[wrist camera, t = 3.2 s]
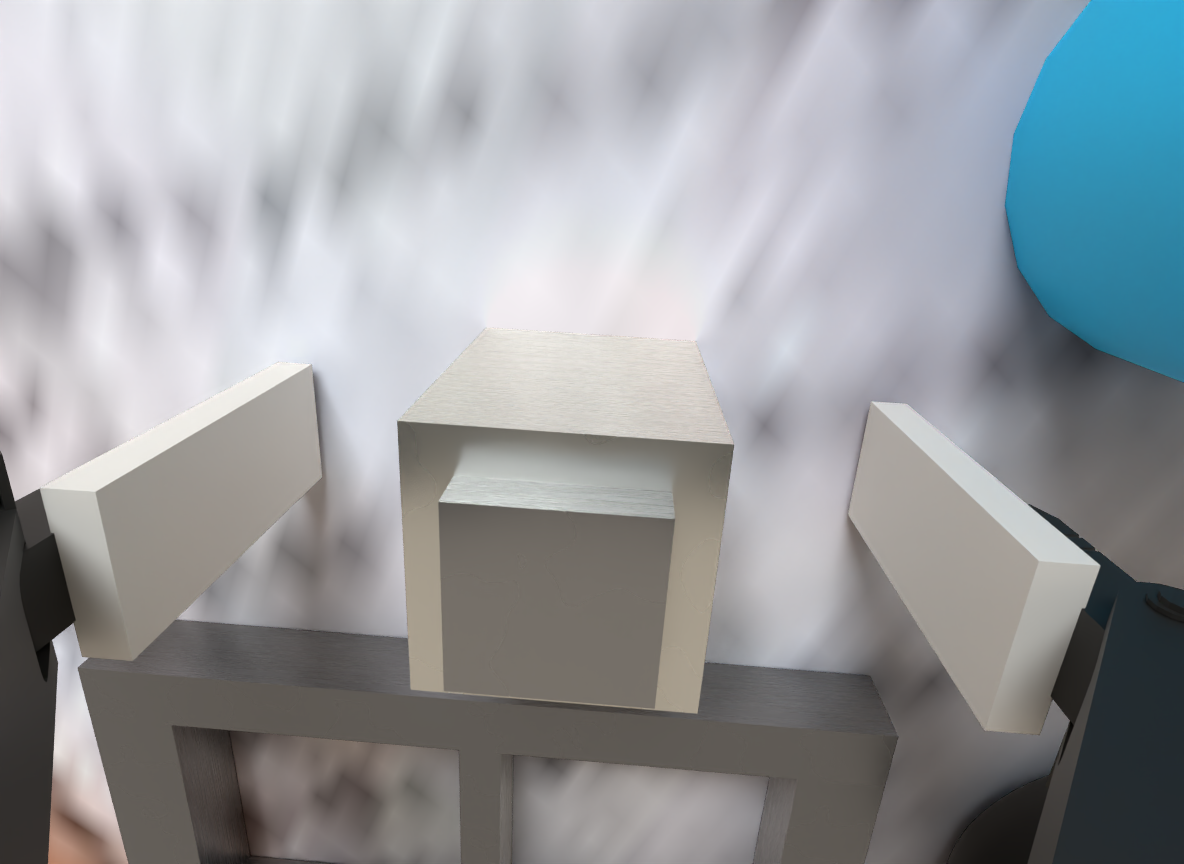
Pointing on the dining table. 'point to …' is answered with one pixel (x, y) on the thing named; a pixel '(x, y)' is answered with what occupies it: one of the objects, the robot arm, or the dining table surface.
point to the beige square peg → (564, 520)
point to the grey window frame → (463, 739)
